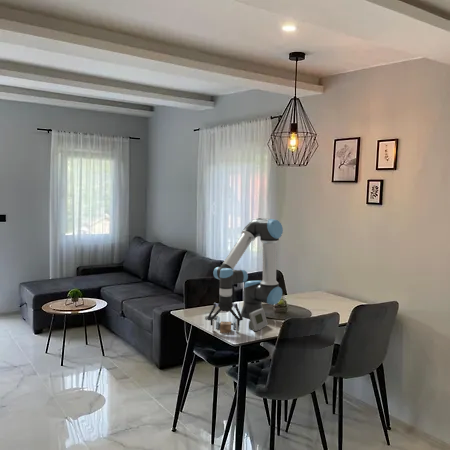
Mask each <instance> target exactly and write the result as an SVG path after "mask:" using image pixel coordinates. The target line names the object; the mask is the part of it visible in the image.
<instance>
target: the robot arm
mask: <svg viewBox="0 0 450 450" xmlns="http://www.w3.org/2000/svg"><path fill="white" fill-rule="evenodd" d="M283 231H284V228H283V225H282V222H280V220H279V219H274V218H262V217H261V218H258V217H257V218H255V219H253V220H251V221H250V222H248V223H247V225H246V226H244V228H243V230H241V235H240V236H239V238H238V239H237V242H235V245H233V247H232V248H231V250H230V251H229V253H228V254H227V257H226V258H225V259H224V261H223V262H222V264H221V265H220V266H217V267H215V268H214V269H213V272H212V273H213V277H214V279H217V280H219V297H218V298H219V299H218V303H216V302H214V303H213V307H212V308H211V311H210V312H209V314H208V315H207V316H208V319H210V320H209V321H210V326H211V327H212V328H211V329H212V330H211V331H212V332H214V331H215V320H214V318H215V317H216V316H218V314H220V313H221V312H230V313H231V315H232V316H233V317H235V318H236V328H235V333H238V327H240V322H241V321H243V319H244V318H247V319H250V318H249V314H250V313H252V312H253V311H256V310H258V309H261V308H262V309H263V310H264V308H263V303H264V304H268V305H272V306H273V305H277V304H279V303H280V301H281V300H282V297H283V289H282V287H280V286H279V282H278V281H277V243H278V242H279V241H280V238H281V237H282V234H283V233H284V232H283ZM258 237H259V239H260V240H259V241H260V242H261V243H262V280H248V279H249V274H248V272H247V271H246V270H245V269H239V270H237V269H235V268H236V266H237V264H238V263H239V261H240V260H241V258H242V257H243V255H244V254H245V252H246V250H247V249H248V248H249V245H250V244H251V243H252V242H253V241H255V240H256V238H258ZM243 283H244V286H243V288H244V289H243V305H242V308H241V311H240V309H239V308H238V306H239V305H238V303H233V285H236V284H243ZM216 308H218V309H217V310H216V311H215V309H216ZM233 308H234V309H235V310H236V312H235V311H234V310H233ZM214 311H215V313H214ZM213 313H214V314H213ZM237 314H238V315H237ZM211 315H213V316H212V317H211Z"/></svg>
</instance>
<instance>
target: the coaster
mask: <svg viewBox="0 0 450 450" xmlns="http://www.w3.org/2000/svg"><path fill="white" fill-rule="evenodd" d="M213 315H214V314H212V315H211V317H212V316H213ZM208 316H209V315H206V316H204V319H205V320H209V321H211V320H210V319H208ZM217 317H219V316H218V315H217V316H216V317H215V318H214V321H217Z"/></svg>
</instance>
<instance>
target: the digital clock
mask: <svg viewBox="0 0 450 450" xmlns="http://www.w3.org/2000/svg"><path fill="white" fill-rule="evenodd" d="M248 319H249V321H248V329H249V330H252V331H253V332H259V331H260V330H262V329H265V327H267V326H268V321H267V316H266V314H265V310H264V308H263V309H262V308H261V309H258V310H256V311H253V312H252V313H250V314H249V318H248Z"/></svg>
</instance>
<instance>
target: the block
mask: <svg viewBox="0 0 450 450" xmlns="http://www.w3.org/2000/svg"><path fill="white" fill-rule="evenodd" d="M220 323H221V324H220ZM220 323H219V329H220V330H219V333H220V334H223V333H224V334H231V331H232V325H231V323H232V321H220Z"/></svg>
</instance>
